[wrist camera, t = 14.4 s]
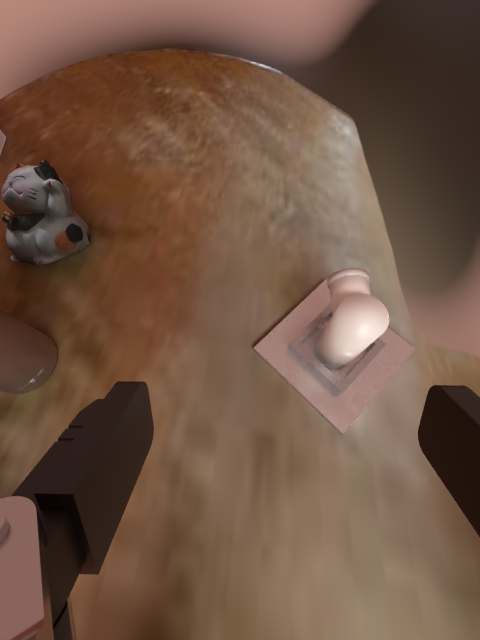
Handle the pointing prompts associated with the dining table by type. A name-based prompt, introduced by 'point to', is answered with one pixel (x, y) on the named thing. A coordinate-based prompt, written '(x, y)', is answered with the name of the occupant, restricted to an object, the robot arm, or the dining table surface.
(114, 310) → the dining table surface
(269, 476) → the dining table surface
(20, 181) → the lucky cat figurine
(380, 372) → the plate
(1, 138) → the supplement box
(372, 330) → the elbow
